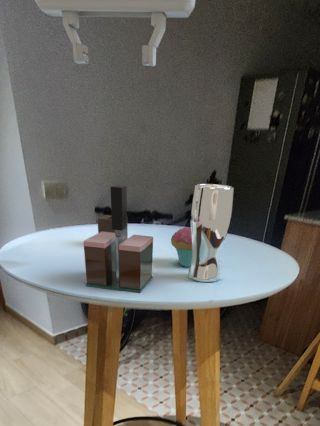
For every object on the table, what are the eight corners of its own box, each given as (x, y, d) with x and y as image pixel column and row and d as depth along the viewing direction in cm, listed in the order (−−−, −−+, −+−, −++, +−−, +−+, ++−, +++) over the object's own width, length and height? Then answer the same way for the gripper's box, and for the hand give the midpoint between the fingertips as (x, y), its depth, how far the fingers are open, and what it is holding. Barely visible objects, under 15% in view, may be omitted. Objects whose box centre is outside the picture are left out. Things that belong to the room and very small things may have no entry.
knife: (112, 281, 64) (109, 186, 56) (118, 276, 67) (116, 185, 58) (122, 282, 64) (120, 187, 55) (128, 277, 66) (127, 185, 58)
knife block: (98, 247, 85) (97, 218, 82) (106, 242, 89) (105, 214, 86) (120, 249, 84) (120, 220, 81) (127, 244, 89) (127, 216, 85)
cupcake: (218, 267, 76) (227, 201, 69) (186, 272, 72) (192, 203, 65) (193, 257, 81) (198, 195, 74) (161, 261, 77) (164, 196, 70)
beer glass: (197, 269, 74) (206, 182, 65) (228, 277, 71) (242, 187, 62) (178, 277, 69) (185, 184, 60) (210, 285, 66) (223, 189, 57)
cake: (85, 286, 63) (82, 241, 59) (103, 272, 70) (101, 231, 65) (140, 292, 61) (140, 247, 57) (152, 278, 68) (154, 236, 64)
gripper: (10, -119, 39) (31, 58, 48) (197, -128, 36) (184, 62, 45) (39, -89, 44) (53, 66, 53) (205, -95, 41) (192, 70, 50)
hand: (114, 64), depth 49 cm, fingers open, 8 cm apart
